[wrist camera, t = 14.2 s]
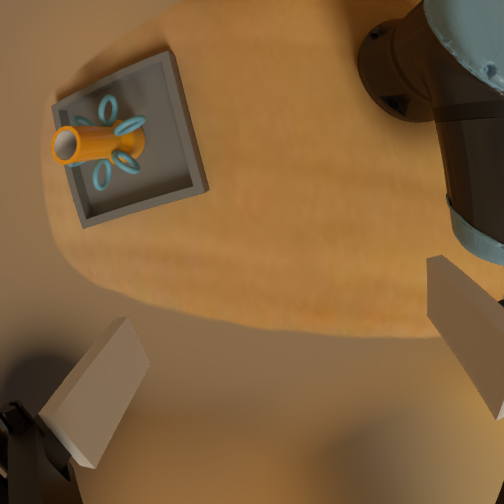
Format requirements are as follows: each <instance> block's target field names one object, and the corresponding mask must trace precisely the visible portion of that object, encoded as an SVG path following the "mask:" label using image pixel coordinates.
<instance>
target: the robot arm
mask: <svg viewBox="0 0 504 504" xmlns="http://www.w3.org/2000/svg"><path fill="white" fill-rule="evenodd" d="M358 68H359V73H360V77H361V80H362V82H363V85H364V87H365V88H366V90H367V92H368V94H369V95H370V96H371V98H372V99H373V100H374V101H375V102H376V104H377V105H379V106H380V107H381V108H382V109H383V110H384V111H386V112H387V113H389V114H390V115H392V116H394V117H396V118H398V119H401V120H404V121H408V122H415V123H419V122H429V121H434V120H435V124H436V129H437V134H438V139H439V144H440V149H441V155H442V161H443V167H444V174H445V181H446V188H447V194H446V200H447V204H448V206H449V208H450V215H451V222H452V229H453V232H454V235H455V237H456V238H457V239H458V240H459V242H460V243H461V245H462V246H463V247H464V248H465V249H466V250H468V251H469V252H470V253H472V254H473V255H475V256H477V257H479V258H481V259H483V260H486V261H489V262H491V263H495V264H498V265H503V266H504V0H422V1H421V2H420V3H419V4H418V5H417V6H415V7H414V8H413V9H412V10H411V11H410V12H409V13H408V14H407V15H406V16H405V17H404V18H400V19H392V20H388V21H385V22H383V23H381V24H379V25H377V26H376V27H375V28H373V29H372V30H371V31H370V32H369V34H368V35H367V36H366V37H365V39H364V40H363V42H362V44H361V47H360V50H359V55H358ZM427 316H428V318H429V319H430V320H431V322H432V323H433V324H434V326H435V327H436V329H437V330H438V331H439V333H440V334H441V336H442V337H443V338H444V340H445V341H446V343H447V344H448V346H449V347H450V349H451V350H452V351H453V353H454V354H455V355H456V357H457V359H458V360H459V362H460V363H461V365H462V366H463V368H464V369H465V371H466V372H467V374H468V376H469V377H470V379H471V380H472V382H473V384H474V385H475V387H476V388H477V390H478V392H479V393H480V395H481V396H482V398H483V400H484V401H485V403H486V404H487V406H488V408H489V410H490V411H491V413H492V414H493V416H494V418H495V420H496V421H497V420H499V419H501V418H503V417H504V300H501V301H498V302H497V301H496V300H495V299H494V298H493V297H491V296H490V295H489V294H488V293H487V292H486V291H485V290H484V289H482V288H481V287H480V286H479V285H478V284H477V283H476V282H474V281H473V280H472V279H471V278H470V277H469V276H467V275H466V274H465V273H464V272H463V271H461V270H460V269H459V268H458V267H457V266H455V265H454V264H453V263H452V262H450V261H449V260H448V259H447V258H446V257H444V256H443V255H439V256H435V257H431V258H427ZM149 366H150V362H149V360H148V358H147V356H146V354H145V352H144V350H143V348H142V345H141V343H140V341H139V339H138V337H137V335H136V332H135V330H134V328H133V326H132V324H131V321H130V319H129V317H128V316H127V317H121V318H115V319H114V320H113V321H112V323H111V324H110V325H109V326H108V327H107V329H106V330H105V331H104V332H103V333H102V334H101V336H100V337H99V338H98V339H97V340H96V342H95V343H94V344H93V345H92V346H91V348H90V349H89V350H88V351H87V352H86V354H85V355H84V356H83V357H82V359H81V360H80V361H79V362H78V364H77V365H76V366H75V367H74V368H73V370H72V371H71V372H70V374H69V375H68V376H67V377H66V378H65V380H63V381H62V382H61V384H60V385H59V386H58V388H57V389H56V391H55V392H54V393H53V394H52V395H51V398H49V399H48V401H47V402H46V403H45V404H44V406H43V407H42V408H41V409H40V411H39V412H38V414H37V415H36V416H35V417H34V419H33V418H32V416H31V415H30V413H29V412H28V411H27V409H26V408H25V407H24V405H23V404H22V402H21V401H19V400H13V401H10V402H8V403H6V404H4V405H3V406H2V407H1V408H0V423H1V424H2V426H3V427H4V428H5V429H6V431H2V429H1V428H0V467H1V468H2V469H3V470H4V471H5V472H6V473H7V477H6V478H4V477H3V476H2V475H1V474H0V504H83V502H82V499H81V495H80V491H79V488H78V484H77V481H76V477H75V473H74V469H73V467H72V465H71V464H70V463H69V459H70V457H71V456H72V457H73V458H74V459H75V460H76V461H77V462H78V463H79V465H80V466H85V467H89V468H94V469H95V468H96V466H97V465H98V463H99V461H100V459H101V457H102V455H103V453H104V451H105V449H106V447H107V445H108V443H109V441H110V439H111V437H112V435H113V433H114V431H115V429H116V427H117V426H118V424H119V422H120V420H121V418H122V416H123V414H124V412H125V410H126V408H127V407H128V405H129V403H130V401H131V399H132V397H133V395H134V394H135V392H136V390H137V388H138V386H139V384H140V382H141V381H142V379H143V377H144V375H145V373H146V371H147V370H148V367H149ZM495 504H504V482H503V485H502V487H501V490H500V493H499V495H498V498H497V500H496V503H495Z"/></svg>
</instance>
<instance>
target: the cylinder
mask: <svg viewBox="0 0 504 504" xmlns="http://www.w3.org/2000/svg"><path fill="white" fill-rule="evenodd" d="M109 100H110V101H111V104H112V114H111V117H110V119H109V121H106V120H105V116H104V110H105V106H106V103H107V102H108V101H109ZM117 113H118V103H117V100H116V98H115V96H113V95H111V94H108V95H106V96H105V97H104V98H103V99H102V100H101V102H100V105H99V109H98V118H99V122H100V124H101V125H102V126H96V125H95V124H94V123H93V122H92V121H90V120H89V119H87V118H85V117H83V116H79V115H76V116H73V117H72V119H71V122H72V124H73V126H63V127H61V128H60V129H58V130H57V131H56V133H55V134H54V136H53V139H52V143H51V151H52V155H53V157H54V159H55V160H56V161H57V162H58V163H60V164H63V165H66V164H68V166H69V167H75V166H78V165H80V164H82V163H84V162H86V161H90V160H97V159H99V160H98V161H97V162H96V164H95V166H94V169H93V175H92V179H93V184H94V187H95V188H96V189H97V190H99V191H102V190H104V189H105V188H106V187H107V186H108V184H109V182H110V179H111V174H112V166H111V164H116V165H117V166H118V167H119V168H121V169H122V170H124V171H125V172H128V173H130V174H137V173H139V172H140V165H139V164H138V162H137V161H136V160H135V159H136V158H138V157H139V156H140V154H141V153H142V151H143V149H144V147H145V134H144V131H143V129H142V128H141V127H140V126H141V125H143V124H144V123H145V121H146V117H145V116H143V115H138V116H134V117H131V118H129V119H127V120H116V117H117ZM78 121H79V122H82V123H84V124H86V125H87V126H83V125H82V124H80V123H79V122H78ZM126 162H129V163H130V164H131V165H132V166H133V167H134V168H133V167H130V166H128V165H127V164H125V163H126ZM103 163H104V164H105V166H106V176H105V180H104V182H103V183H102V184H100V183H99V179H98V175H99V170H100V167H101V165H102V164H103Z"/></svg>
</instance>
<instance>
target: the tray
mask: <svg viewBox="0 0 504 504" xmlns="http://www.w3.org/2000/svg"><path fill="white" fill-rule="evenodd" d="M108 94H111V95H113V96H115V98H116V100H117V103H118V113H117V117H116V120H127V119H129V118H131V117H134V116H138V115H143V116H145V117H146V121H145V123H144V124H143V125H141V126H140V127H141V128H142V129H143V131H144V134H145V147H144V149H143V151H142V153H141V154H140V156H139V157H138V158H136V159H135V160H136V161H137V162H138V164H139V165H140V172H139V173H137V174H130V173H128V172H125V171H124V170H122V169H121V168H119V167H118V166H117V165H116V164H111V166H112V174H111V179H110V182H109V184H108V186H107V187H106V188H105V189H104V190H102V191H99V190H97V189H96V188H95V187H94V184H93V179H92V175H93V169H94V166H95V164H96V162H97V161H98V160H99V159H97V160H90V161H86V162H84V163H82V164H80V165H78V166H75V167H69V166H68V164H66V165H64V167H65V171H66V175H67V178H68V182H69V186H70V189H71V193H72V196H73V200H74V203H75V206H76V210H77V213H78V216H79V219H80V222H81V225H82V228H83V229H84V228H87V227H90V226H93V225H97V224H100V223H103V222H106V221H109V220H112V219H115V218H119V217H122V216H125V215H128V214H132V213H135V212H138V211H142V210H145V209H149V208H152V207H156V206H159V205H162V204H166V203H170V202H173V201H177V200H180V199H184V198H188V197H191V196H195V195H199V194H203V193H205V192H207V191H208V190H210V189H209V185H208V182H207V178H206V174H205V171H204V167H203V163H202V159H201V156H200V152H199V148H198V144H197V140H196V137H195V133H194V129H193V125H192V121H191V117H190V114H189V110H188V106H187V102H186V98H185V94H184V90H183V86H182V82H181V78H180V74H179V70H178V66H177V62H176V58H175V55H173V54H172V53H171V52H170V51H165V52H162V53H160V54H157V55H155V56H152V57H149V58H147V59H145V60H142V61H140V62H137V63H135V64H133V65H130V66H128V67H126V68H124V69H121V70H119V71H117V72H115V73H113V74H111V75H108V76H106V77H104V78H102V79H100V80H98V81H96V82H94V83H92V84H90V85H88V86H86V87H85V88H83V89H81V90H79V91H77V92H75V93H73V94H72V95H70V96H68V97H66V98H65V99H63V100H61V101H59V102H58V103H56V104H54V105H53V106H51V107H52V112H53V118H54V123H55V128H56V131H57V130H58V129H60V128H61V127H63V126H73V124H72V122H71V119H72V117H73V116H76V115H79V116H83V117H85V118H87V119H89V120H90V121H92V122H93V123H94V124H95V125H96V126H102V125H101V124H100V122H99V118H98V109H99V105H100V102H101V100H102V99H103V98H104V97H105V96H106V95H108ZM111 114H112V104H111V101H110V100H109V101H108V102H107V103H106V106H105V110H104V116H105V120H106V121H109V119H110V117H111ZM78 122H79V121H78ZM79 123H80V124H82V125H83V126H87V125H86V124H84V123H82V122H79ZM125 164H127V165H128V166H130V167H133V166H132V165H131V164H130V163H129V162H126V163H125ZM133 168H134V167H133ZM105 176H106V166H105V164H104V163H103V164H102V165H101V167H100V170H99V175H98V179H99V183H100V184H102V183H103V182H104V180H105Z"/></svg>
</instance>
